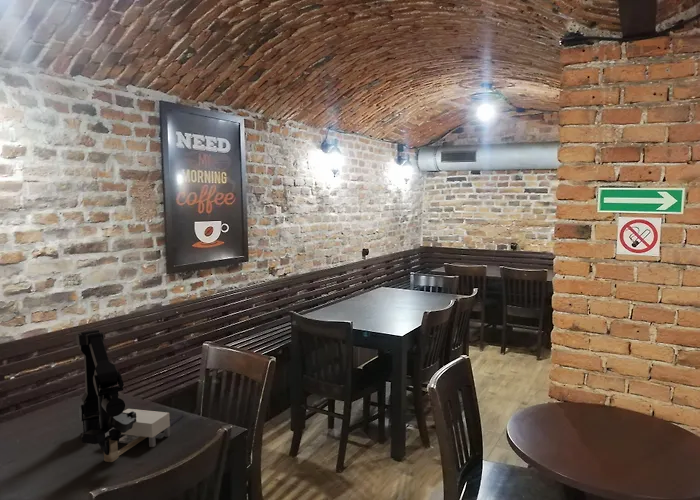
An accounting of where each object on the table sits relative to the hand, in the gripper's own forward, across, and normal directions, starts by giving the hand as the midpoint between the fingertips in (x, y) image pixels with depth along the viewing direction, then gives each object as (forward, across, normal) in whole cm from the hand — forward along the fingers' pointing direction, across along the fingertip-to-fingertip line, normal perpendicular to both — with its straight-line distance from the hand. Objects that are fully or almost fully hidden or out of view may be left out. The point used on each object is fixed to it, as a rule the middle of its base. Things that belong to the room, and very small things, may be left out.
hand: (110, 452), depth 169 cm
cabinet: (+2, +16, +1) cm, 16 cm away
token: (+3, +14, +4) cm, 15 cm away
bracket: (+3, +30, +4) cm, 30 cm away
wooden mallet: (+2, +9, +3) cm, 10 cm away
